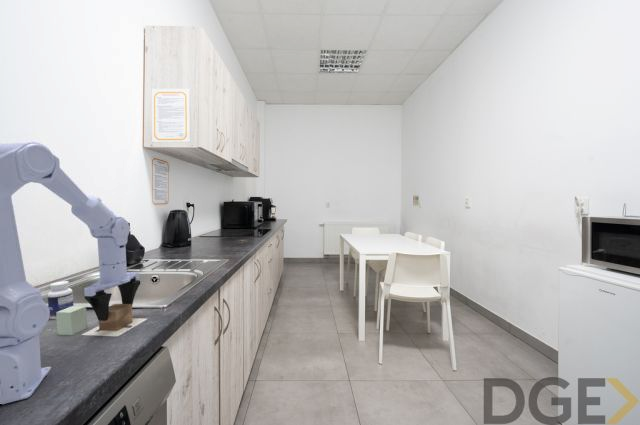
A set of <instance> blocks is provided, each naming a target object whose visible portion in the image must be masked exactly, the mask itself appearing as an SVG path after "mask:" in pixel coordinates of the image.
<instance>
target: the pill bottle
mask: <svg viewBox="0 0 640 425" xmlns="http://www.w3.org/2000/svg"><path fill="white" fill-rule="evenodd" d="M49 286H50V290H51V291H49V292H48V293H47V306H48V307H49V311H50V316H49V320H50V319H51V320H57V316H56V312H58V311H61V310H63V309H66V308H69V307H71V306H74V292H73V289H72V288H71V287H70V281H68V280H63V281H56V282H54V283H53V282H52V283H50V284H49Z"/></svg>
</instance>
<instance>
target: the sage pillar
mask: <svg viewBox="0 0 640 425" xmlns="http://www.w3.org/2000/svg"><path fill="white" fill-rule="evenodd" d="M56 316H57V319H56V330H57V335H58V336H59V335H63V336H74V335H76V334H77V333H79V332H81V331H83V330H86V329H87V328H88V319H87V318H88V316H87V306H84V305H82V306H79V305H77V306H76V305H73V306H71V307H69V308H66V309H63V310H61V311H58V312H56Z"/></svg>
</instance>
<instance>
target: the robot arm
mask: <svg viewBox="0 0 640 425" xmlns="http://www.w3.org/2000/svg"><path fill="white" fill-rule="evenodd" d="M30 183H34V184H35V183H36V184H41V185H42V186H43V187H45V188H46V189H48V190H49V191H51V192H52V193H53V194H55V195H56V196H58V197H59V198H61V199H62V200H63V201H65V202H66V203H68V204H69V205H70V206H71V209H70V210H71V213H72V214H73V215H74V216H75V217H76V218H78V219H79V220H80V221H81V222H82V223H84V225H86V226H87V227H88V229H89V233H90V234H91V236H92V237H93V238H95V239H97V251H98V255H97V256H98V269H99V281H97V282H95V283H93V284H91V285H89V286H87V287H84V290H83V291H84V292H83V293H84V299H85V300H86V301H87V302H88V303H89V304H90V306H91V308H92V309H93V311H94V313H95V315H96V318H97V320H98V322H99V321H106V320H108V317H109V306H110V302H111V298H112V293H107V292H106V290H109V289H112V288H115V287H117V288H118V290H119V292H120V297H121V304H132V306H133V303H134V300H135V297H136V293H137V290H138V289H139V287H140V285H141V280H139V279H140V277H139V272H138V271H132V272H128V268H127V250H126V249H127V248H126V247H127V246H126V245H127V244H128V238H129V237H128V236H129V234H130V231H131V226H130V224H129V222H128V221H127V220H126V219H125V218H124V217H122V216H117V215H115V213H114V212H113V211H112V210H111V209H109V207H107V206H106V205H105V204H104V203H103V202H102V201H103V200H102V199H101V198H99V197H97V196H94V195H89V196H88V195H87V194H86V193H85V192H84V191H83V190H82V189H81V188H80V187H79V186H78V185H77V184H76V183H75V182H74V181H73V180H72V178H70V177H69V175H68V174H67V173H66V172H65V171H64V170H63V169H62V168H61V167H60V158H59V157H57V155H55V154H53V152H52V151H51V150H50V148H49V147H47V146H45V145H44V144H42V143H40V142H35V141H26V142H18V143H17V142H14V143H13V142H12V143H9V142H8V143H0V404H2V405H5V404H9V403H13V402H16V401H21V400H25V399H28V398H30V397H31V396H32V395H33V393H34V392H35V391H36V389H37V388H38V387H39V386H40V385H41V383H42V382H43V380H44V379H45V377H46V376H47V374H48V373H49V372H50V371H51V369H52V366H46V367H42V363H41V362H42V361H41V351H40V350H41V348H40V347H41V346H40V334H42V332H43V329H44V328H45V327H46V325H47V324H48V321H49V320H50V318H49V316H50V311H49V307H48V303H46V302H45V301H44V300H43V298H42V293H41V291H40V290H38V289H37V288H36V287H35V286H33V285H32V284H30V282H28V281H27V278H26V273H25V272H26V271H25V266H24V260H23V255H22V251H21V250H22V249H21V245H20V240H19V239H20V238H19V233H18V227H17V221H16V215H15V211H14V206H13V199H12V198H13V197H12V196H13V195H14V194H15V193H16V192H17V191H19V190H20V189H22V188H23V187H24V186H25V185H27V184H30Z"/></svg>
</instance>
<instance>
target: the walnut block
mask: <svg viewBox="0 0 640 425" xmlns="http://www.w3.org/2000/svg"><path fill="white" fill-rule="evenodd" d="M132 318H133V305H132V304H122V303H114V304H111V305H109V317H108V320H106V321H98V326H99V330H103V331H118V330H120V329H122V328H123V327H125V326H127V325H129V324H131V323H132V322H133V320H132Z"/></svg>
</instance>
